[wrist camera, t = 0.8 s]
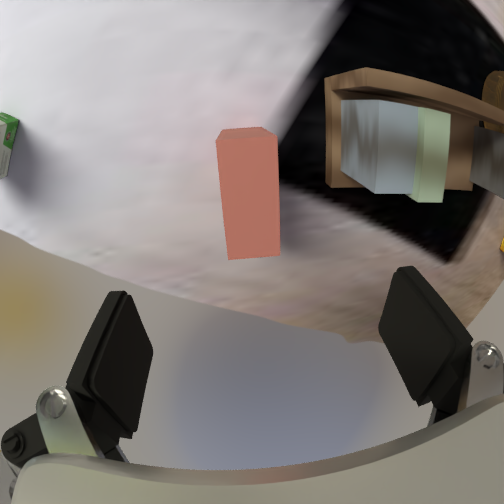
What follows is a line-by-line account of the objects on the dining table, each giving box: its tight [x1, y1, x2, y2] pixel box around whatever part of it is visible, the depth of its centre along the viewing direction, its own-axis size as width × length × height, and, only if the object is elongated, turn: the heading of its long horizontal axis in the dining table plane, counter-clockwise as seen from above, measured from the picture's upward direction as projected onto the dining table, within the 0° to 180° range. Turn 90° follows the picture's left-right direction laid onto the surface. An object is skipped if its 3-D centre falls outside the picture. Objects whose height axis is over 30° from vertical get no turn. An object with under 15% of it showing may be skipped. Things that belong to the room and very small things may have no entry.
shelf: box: [324, 67, 504, 202], centre depth 22 cm, size 12×23×11 cm, turn 93°
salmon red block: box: [216, 127, 280, 260], centre depth 24 cm, size 9×4×11 cm, turn 3°
